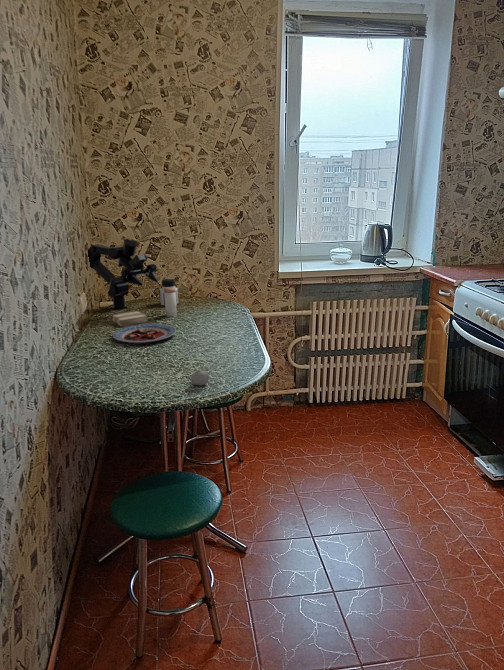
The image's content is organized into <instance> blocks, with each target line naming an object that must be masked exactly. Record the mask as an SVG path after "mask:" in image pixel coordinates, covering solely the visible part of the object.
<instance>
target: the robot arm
mask: <svg viewBox="0 0 504 670" xmlns="http://www.w3.org/2000/svg"><path fill="white" fill-rule="evenodd" d="M137 247H138V242H136V241H134V240H131V239H129V238H124V241H123V244H122V246H115V247H111V246H107V245H102V244H92V245H90V246H89V248H87V250H88V257H89V262H90V267H91V268H90V269H92V270H94V271H95V272H96V273H97V274H98V275H99V276H100V277H101V278H102V279H104V281H105V282H106V283H107V284H108V286H109V287H108V288H109V289H108V291H107V295H108V296H107V297H108V298H112V305H111V309H113V310H122V309H127V308H128V306H127V305H126V301H125V300H126V299H125V296H128V295H129V291H130V290H129V289H130V286H129V284H133V285H137V286H142V285H143V283H142V281H141V280H140V279H139V278H138V277H140V276H143V275H144V276H145V277H147V278H148V279H149V280H151V281H153V282H155V283H158V281H159V280H158V278H157V275H156V270H157V265H156V264H155V263H152V264H147V265H146V268H144V266H145V265H144V263H145V262H146V261H147V260H148V255H146V254H145V253H141V254H136V250H137ZM135 254H136V255H135ZM102 255H104V256H108V258H109V259H111V260H118V267H119V268H122V267H123V268H124V269H122V271H121V274H120V276H116V275H114V273H112V271H110V269H109V268H107V267H106V266H105V265H104V264H103V262H101V257H102Z"/></svg>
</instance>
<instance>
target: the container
mask: <svg viewBox="0 0 504 670" xmlns="http://www.w3.org/2000/svg"><path fill="white" fill-rule="evenodd" d="M175 283H176V281H175V278H174V279H173V278H170V277H169V278H168V277H167V278H163V279H162V280H161V287H162V289H160V291H159V292H160V293H159V294H160V295H159V296H160V305H165V297H164V288H168V287H174V288H175V290H176V292H175V293H176V306H177V305H178V304H179V293H178V292H179V291H178V287H176V284H175Z"/></svg>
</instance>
